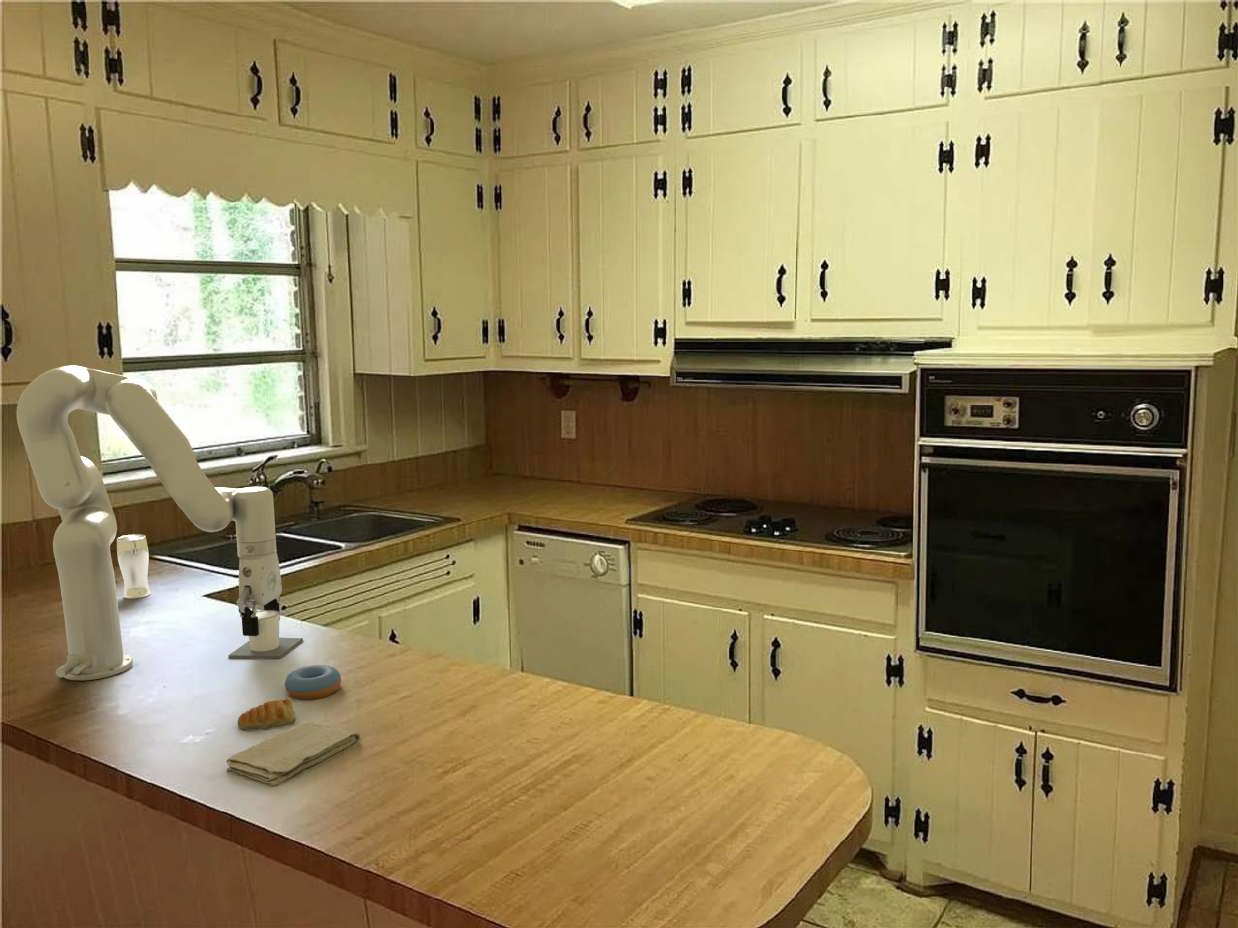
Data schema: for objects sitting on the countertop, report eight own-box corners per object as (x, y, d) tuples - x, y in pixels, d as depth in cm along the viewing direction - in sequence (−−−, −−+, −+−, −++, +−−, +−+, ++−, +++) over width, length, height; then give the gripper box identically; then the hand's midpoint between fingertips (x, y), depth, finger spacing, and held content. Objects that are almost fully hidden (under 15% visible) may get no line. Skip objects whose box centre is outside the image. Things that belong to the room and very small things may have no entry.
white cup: (270, 653, 206) (268, 620, 205) (240, 651, 208) (237, 618, 206) (288, 642, 213) (286, 610, 212) (259, 640, 214) (256, 608, 213)
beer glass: (158, 593, 255) (152, 535, 252) (132, 601, 249) (126, 541, 246) (142, 590, 258) (136, 533, 256) (116, 597, 253) (109, 538, 250)
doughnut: (273, 692, 186) (273, 669, 185) (318, 678, 194) (319, 655, 193) (306, 709, 180) (307, 685, 179) (351, 694, 188) (352, 671, 187)
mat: (280, 658, 204) (280, 655, 204) (228, 658, 206) (228, 655, 206) (302, 640, 215) (302, 637, 215) (253, 640, 216) (253, 637, 216)
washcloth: (221, 775, 155) (219, 756, 154) (309, 731, 170) (308, 714, 170) (276, 792, 149) (274, 772, 148) (362, 745, 164) (361, 727, 164)
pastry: (240, 736, 168) (238, 715, 167) (235, 722, 174) (234, 701, 173) (298, 725, 172) (296, 703, 171) (292, 711, 178) (290, 691, 177)
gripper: (254, 558, 198) (260, 642, 201) (292, 538, 215) (296, 616, 218) (218, 557, 199) (224, 641, 201) (258, 537, 216) (263, 615, 218)
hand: (261, 627), depth 210 cm, fingers open, 9 cm apart
